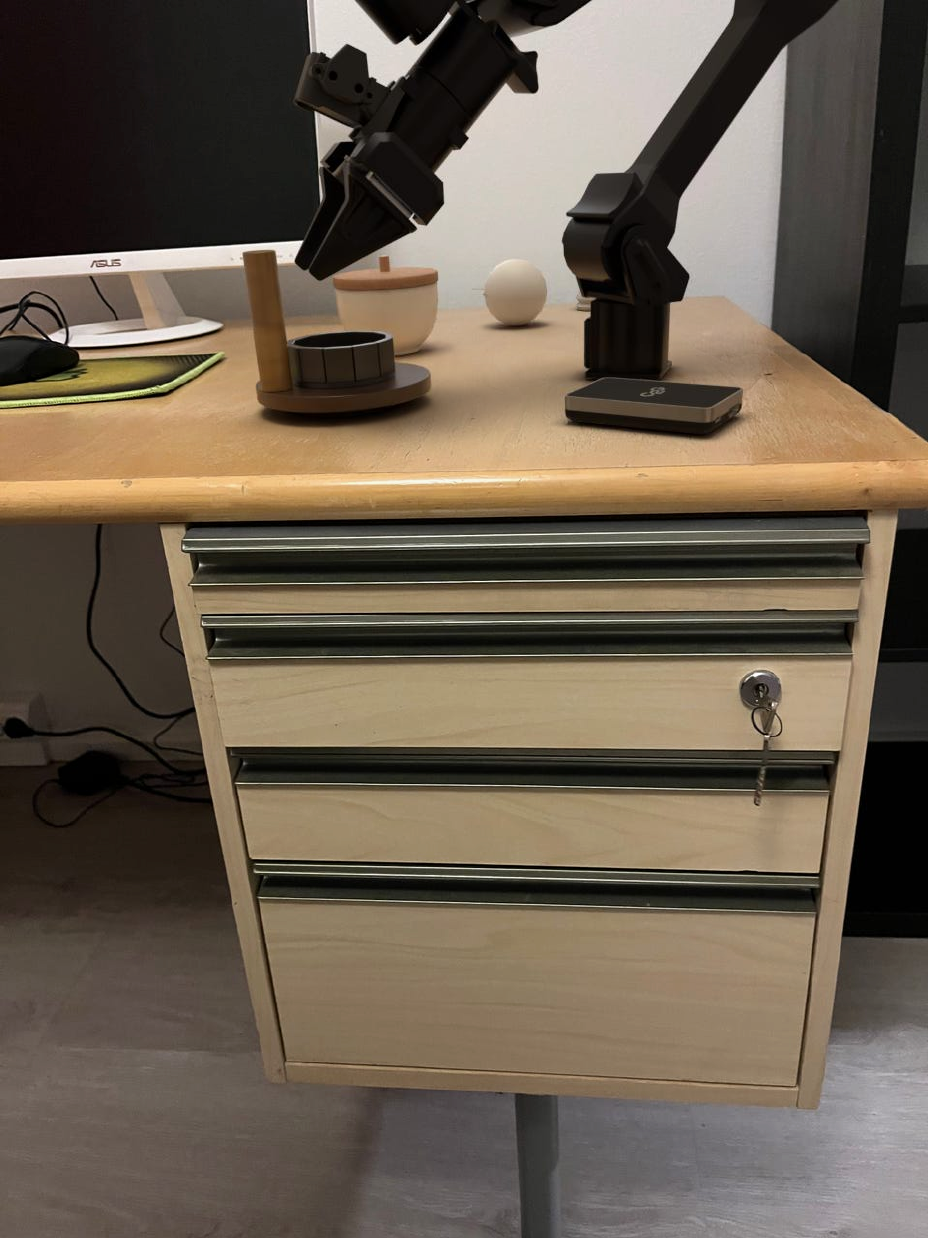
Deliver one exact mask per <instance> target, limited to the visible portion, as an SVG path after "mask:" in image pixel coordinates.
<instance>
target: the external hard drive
mask: <svg viewBox="0 0 928 1238" xmlns="http://www.w3.org/2000/svg"><path fill="white" fill-rule="evenodd" d="M743 397H744V388H743V387H740V386H730V385H716V384H702V383H691V382H677V381H666V380H665V381H663V380H638V379H624V378H602V379H597V380H595V381H592V382H590V383H588V384H586V385H584V386H581V387H579V388H577V389H574V390H572V391H569V392H568V393H565V394H564V416H565V417H566V419H567V420H569V421H571V422H578V423H583V424H599V425H608V426H617V427H627V428H635V429H636V428H637V429H647V430H655V431H665V432H666V431H667V432H676V433H685V434H686V433H687V434H689V435H706V434H708V433H711V432H712V431H713V430H714V429H716V428H717V427H719V426H721V425H723V424H724V423H725V422H727V421H728V420H730V419H731V418H733V417H735V416H736V415H737V414H739V412H741V410H742V407H743Z"/></svg>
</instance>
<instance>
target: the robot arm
mask: <svg viewBox="0 0 928 1238" xmlns="http://www.w3.org/2000/svg"><path fill="white" fill-rule="evenodd" d="M592 1H593V0H354V2H355V3H356V4H357V5H358V6H359V8H361V10H362V11H363V12H364V13H365V14H366V15H367V17H368V18H369V19H370V20H371V21H372V22H373V23H374V25H376V27H377V28H378V29H379V30H380V31H381V32H382V34H383V35H384V36H385V37H386V38H387V40H389V42H391V44H392V45H394V46H397V45H399V44H400V43H401V42H403V41H405V40H406V39H407V38H408V40H409V41H410V42H411V43H412V44H413V46H415V47H416V46H419V45H420V44H422V43H423V42H425V41H426V40H427V39H428V38H429V37H430V36H431V35H432V34H433V33H434V31H435V30H436V29H437V28H438V27H439V26H440V24H441V23H442V22H443V20H444V19H445V18H446V17H447V15H448V14H449V17H448V18H447V20H446V21H445V23H444V24H443V25H442V26H441V28H440V29H439V31H438V32H437V33H436V35H435V36H434V37H433V38H432V40H431V41H430V42H429V44H427V46H426V47H425V49H424V50H423V51H422V53H421V54H420V55H419V56H418V57H417V59H416V60H415V62H414V63H413V64H412V66H411V67H410V68H409V69H408V70H407V72H406V73H405V74H404V75H402V76H400V77H398V79H397V80H396V81H395V80H394V79H393V80H391V81H390V82H389V83H388V84H387V86H386V85H384V84H382V83H380V82H378V81H377V80H378V79H377V78H375V77H373V76H371V77H370V72H369V63H368V62H369V61H368V54H367V52H365V51H363V50H361V49H359V48H357V47H355V46H353V45H351V44H350V43H345V44H344V45H343V46H342V47H341V48H340V49H339V50H337V52H336V53H335V54H333V56H332V57H330V56H327V53H325V52H323V51H320V52H317V51H311V52H310V53H309V54H308V55H307V56H306V59H305V62H304V66H303V69H302V72H301V76H300V78H299V83H298V86H297V88H296V92H295V95H294V99H293V104H294V105H295V106H296V107H298V108H300V109H302V110H304V111H306V112H309V113H313V112H315V113H317V114H319V115H321V116H324V117H326V118H328V119H330V120H332V121H335V122H337V123H339V124H341V125H343V126H345V127H348V128H350V129H352V130H350V132H349V134H348V135H347V137H348V138H349V139H350V140H349V141H348V140H347V141H338V142H335V143H333V144H332V145H331V147H330V148H329V150H328V151H327V152H326V153H325V155H324V156H323V157H322V158H321V160H320V161H319V164H320V165H322V166H319V168H318V175H319V178H320V179H319V180H320V187H321V193H322V198H321V201H320V203H319V205H318V208H317V209H316V212H315V215H314V216H313V218H312V221H311V223H310V225H309V228H308V230H307V232H306V233H305V236H304V238H303V241H302V242H301V244H300V247H299V249H298V251H297V253H296V256H295V257H294V260H293V262H294V264H295V265H296V266H297V267H298V268H299V269H301V270H302V271H307V270H308V271H307V272H308V273H309V274H310V276H312V277H313V278H314V279H315V280H317V281H318V282H322V281H324V280H326V279H328V278H329V277H331V276H334V275H335V274H336V273H337V274H338V272H340V271H342V270H344V269H346V268H349V267H350V266H351V265H353V264H355V263H356V262H358V261H361V260H362V259H364V258H367V257H368V256H370V255H371V254H373V253H375V252H378V251H379V250H382V249H383V248H385V247H387V246H389V245H390V244H392V243H394V242H397V241H398V240H400V239H402V238H404V237H406V236H408V235H410V234H414V233H415V232H416V231H418V227H417V226H416V225H415V223H416V224H417V225H419V226H424V227H427V226H428V225H429V224H430V223H431V221H432V220H433V219H434V218H435V216H436V215H437V214H438V213H439V212H440V210H441V209H442V207H443V206H445V190H444V188H445V187H444V181H442V179H441V178H440V177H439V176H438V175H437V174H435V173H437V171H438V170H439V168H440V167H441V166H442V165H443V164H444V162H445V161H446V160H447V158H448V157H449V156H450V155H451V153H452V152H453V151H460V150H461V149H462V148H463V147H464V146H465V144H466V143H467V142H468V141H469V139H470V137H469V136H468V135H467V133H469V131H470V129H471V128H472V127H473V125H474V124H475V123H476V121H477V120H478V119H479V118H480V117H481V115H482V114H483V113H484V112H485V110H486V109H487V108H488V107H489V105H490V104H491V103H492V102H493V100H494V99H495V98H496V96H497V95H498V94H499V92H500V91H501V90H502V89H503V87H504V86H505V85H507V86H508V87H509V89H510V90H511V91H512V92H513V93H514V94H518V95H519V94H520V95H534V94H535V95H536V94H537V93H538V91H539V89H540V84H539V75H538V74H539V73H538V68H537V66H538V65H537V63H538V57H539V54H538V52H537V51H536V50H527V51H522V50H520V49H519V47H518V46H517V45H516V44H515V42H514V41H513V40H512V39H513V38H517V37H522V36H524V35H528V34H530V33H534V32H537V31H541V30H544V29H547V28H551V27H553V26H557V25H558V24H560V23H562V22H564V21H565V20H566V19H568V18H569V17H571V16H572V15H573V14H575V13H576V12H578V11H579V10H581V9H582V8H583V7H585V6H586V5H587V4H589V3H590V2H592ZM840 1H841V0H734V4H733V9H732V10H733V12H732V16H731V18H730V20H729V22H728V24H727V25H726V26H725V28H724V30H723V31H722V32H721V34H720V35H719V37H718V39H717V40H716V41H715V43H714V44H713V46H712V47H711V49H710V50H709V51H708V53H707V54H706V56H705V58H704V59H703V60H702V62H701V63H700V65H699V66H698V68H697V69H696V71H695V72H694V73H693V75H692V76H691V78H690V79H689V81H688V82H687V84H686V85H685V87H684V88H683V89H682V91H681V93H680V94H679V96H678V97H677V98H676V100H675V101H674V103H673V104H672V106H671V107H670V109H669V110H668V112H667V113H666V114H665V116H664V117H663V119H662V121H661V122H660V123H659V125H658V126H657V127H656V128H655V131H654V132H653V133H652V135H651V136H650V138H649V139H648V141H647V142H646V144H645V145H644V147H643V148H642V150H641V151H640V152H639V154H638V156H637V158H636V159H635V160H634V161H633V163H632V164H631V165H630V166H629V167H628V169H626V170H625V171H624V172H599V173H595V174H594V175H593V177H592V178H591V179H590V180H589V182H588V183H587V186H586V188H585V190H584V192H583V194H582V196H581V198H580V200H579V201H578V202H577V203H576V204H575V206H574V207H572V208H570V209H569V210H567V211H566V212H565V216H566V217H568V218H570V220H569V221H568V223H567V225H566V227H565V229H564V231H563V233H562V238H561V243H562V249H563V250H562V251H563V252H562V253H563V258H564V260H565V263H566V266H567V268H568V269H569V270H570V272H571V274H573V275H574V276H575V280H576V282H577V285H578V289H579V291H580V292H581V296H582V297H584V298H596V299H595V300H593V301H591V302H590V311H589V312H590V313H589V314H590V315H589V317H586V318H585V319H584V321H583V367H584V368H585V369H587V370H585V372H584V379H597V380H599V379H602V378H624V379H638V380H651V381H659V380H661V379H662V378H663V377H664V376H665V374H666V373H667V372H668V371H670V369H671V368H672V366H673V361H672V360H671V359H669V344H670V324H671V323H670V322H671V321H670V320H671V303H678V302H680V303H681V302H682V301H683V300H684V296H685V294H686V290H687V288H688V284H689V281H690V277H691V276H690V273H689V272H688V270H687V269H686V267H684V265H683V264H681V262H680V261H679V259H677V257H676V256H675V255H674V253H673V252H672V251H671V250H670V248H668V247H669V246H670V243H671V242H672V240H673V237H674V235H675V233H676V228H677V220H678V214H679V208H680V207H679V206H680V201H681V199H682V197H683V194H684V193H685V191H686V190H687V189H688V187H689V186H690V185H691V183H692V181H693V180H694V179H695V177H696V176H697V174H698V173H699V171H700V170H701V168H702V167H703V165H704V164H705V162H707V160H708V158H709V157H710V155H712V153H713V151H714V149H716V147H717V145H718V144H719V142H720V141H721V139H722V138H723V136H724V135H725V133H726V132H727V130H729V128H730V126H731V125H732V123H733V122H734V121H735V119H736V118H737V116H738V115H739V114H740V112H741V110H742V109H743V107H744V106H745V104H746V103H747V102H748V100H749V98H750V97H751V96H752V94H753V93H754V91H755V90H756V89H757V87H758V86H759V84H760V83H761V82H762V81H763V78H764V77H765V75H766V74H767V73H768V72H769V70H770V68H771V67H772V66H773V64H774V62H775V61H776V60H777V58H778V57H779V56H780V54H781V52H782V51H783V50H784V49H785V48H786V47H787V46H788V45H789V44H791V43H792V42H793V41H794V40H795V39H797V38H798V37H800V36H801V35H803V33H805V32H807V31H809V30H810V29H811V28H812V27H813V26H815V25H816V24H818V22H820V21H821V20H823V19H824V18H825V17H826V16H827V15H828V13H830V12H831V11H832V9H833V8H834V7H836V5H837V4H839V2H840ZM411 217H412V218H411ZM410 218H411V219H412V220H413V221H414V222H415V223H414V222H413V221H411V219H410Z"/></svg>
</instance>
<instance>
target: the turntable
mask: <svg viewBox="0 0 928 1238" xmlns="http://www.w3.org/2000/svg"><path fill="white" fill-rule="evenodd" d="M241 254H242V261H243V262H242V263H243V268H244V275H245V282H246V288H247V296H248V304H249V311H250V318H251V325H252V332H253V333H252V334H253V340H254V347H255V354H256V361H257V369H258V373H259V380H258V382H256V384H255V392H256V400H257V402H258V403H259V405H261V406H263V407H264V408H268V409H271V410H275V411H276V410H277V411H281V412H289V413H290V412H291V413H300V412H304V413H329V412H346V411H357V410H366V409H373V408H379V407H385V406H390V405H393V406H394V405H398V404H403V403H406V402H409V401H413V400H415V399H419V398H421V397H423V396H424V395H426V394H428V393H429V392H430V391H431V389H432V373H431V371H430V370H429V369H428V368H426V367H425V366H422V365H418V364H414V363H408V362H400V361H396V358H395V357H396V355H395V356H394V344H393V334H390V333H385V332H380V331H345V330H341V331H330V332H320V333H314V334H313V333H312V334H307V335H306V334H305V335H302V336H298V337H295V338H292V339H289V340H288V338H287V331H286V324H285V323H286V322H285V316H284V307H283V300H282V291H281V290H282V289H281V284H280V275H279V267H278V260H277V251H276V250H275V249H257V250H246V251H243V252H242V253H241Z"/></svg>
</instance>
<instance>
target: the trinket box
mask: <svg viewBox="0 0 928 1238" xmlns="http://www.w3.org/2000/svg"><path fill="white" fill-rule="evenodd" d="M378 264H379V267H378V268H368V269H360V270H353V271H345V272H341V273H337V274H336V275H335V274H334V275H333V276H332V285H333V288H334V294H335V302H336V309H337V313H338V317H339V320H340V322H341V326H342V328H343V331H380V332H385V333H390V334H393V344H394V356H395V357H396V356H404V355H409V354H414V353H417V352H419V351H420V350H421V346H422V345H423V344H424V343H425V341H427V339H428V338H429V337H430V335H431V333H432V332H433V330H434V327H435V324H436V321H437V316H438V307H439V289H438V281H439V271H438V269H435V268H433V267H418V266H417V267H415V266H412V267H411V266H403V267H398V266H397V267H391V266H390V265H391V264H390V255H388V254H387V255H379V256H378Z"/></svg>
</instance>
